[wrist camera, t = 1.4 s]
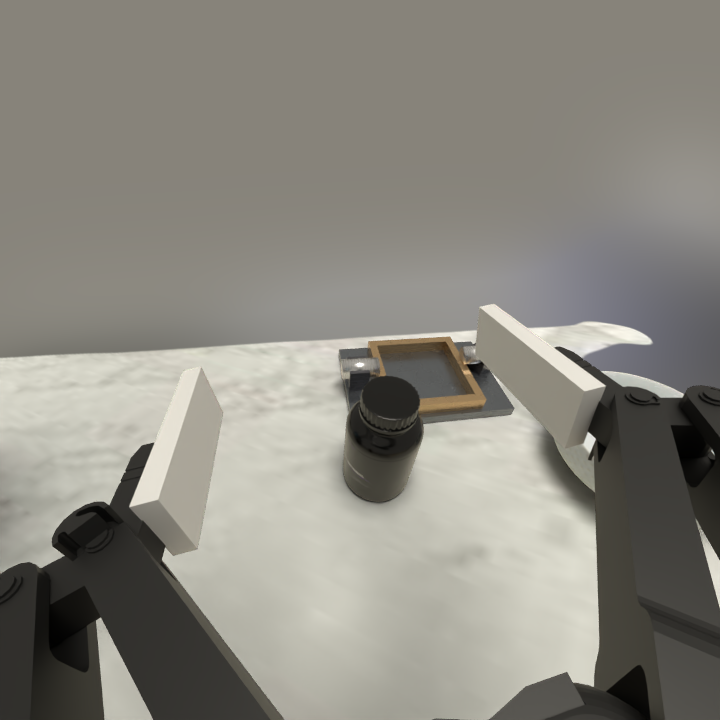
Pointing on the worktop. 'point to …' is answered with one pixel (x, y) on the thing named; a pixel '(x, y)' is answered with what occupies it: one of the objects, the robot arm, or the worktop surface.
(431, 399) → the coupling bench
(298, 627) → the worktop surface
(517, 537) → the worktop surface
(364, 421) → the supplement bottle
